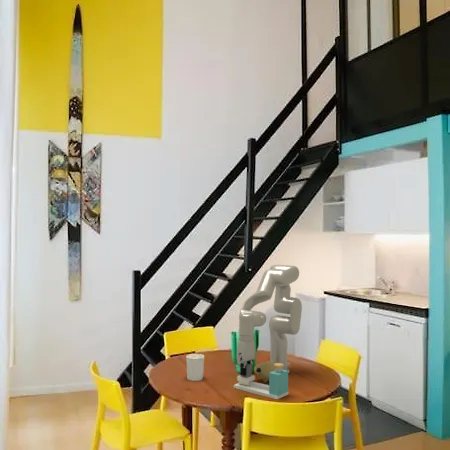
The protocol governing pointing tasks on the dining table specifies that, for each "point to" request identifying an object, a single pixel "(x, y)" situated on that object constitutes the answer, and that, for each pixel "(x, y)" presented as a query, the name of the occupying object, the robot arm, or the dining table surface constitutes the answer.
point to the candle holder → (195, 366)
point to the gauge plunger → (278, 367)
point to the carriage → (248, 377)
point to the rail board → (258, 391)
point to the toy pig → (264, 370)
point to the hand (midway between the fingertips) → (245, 373)
